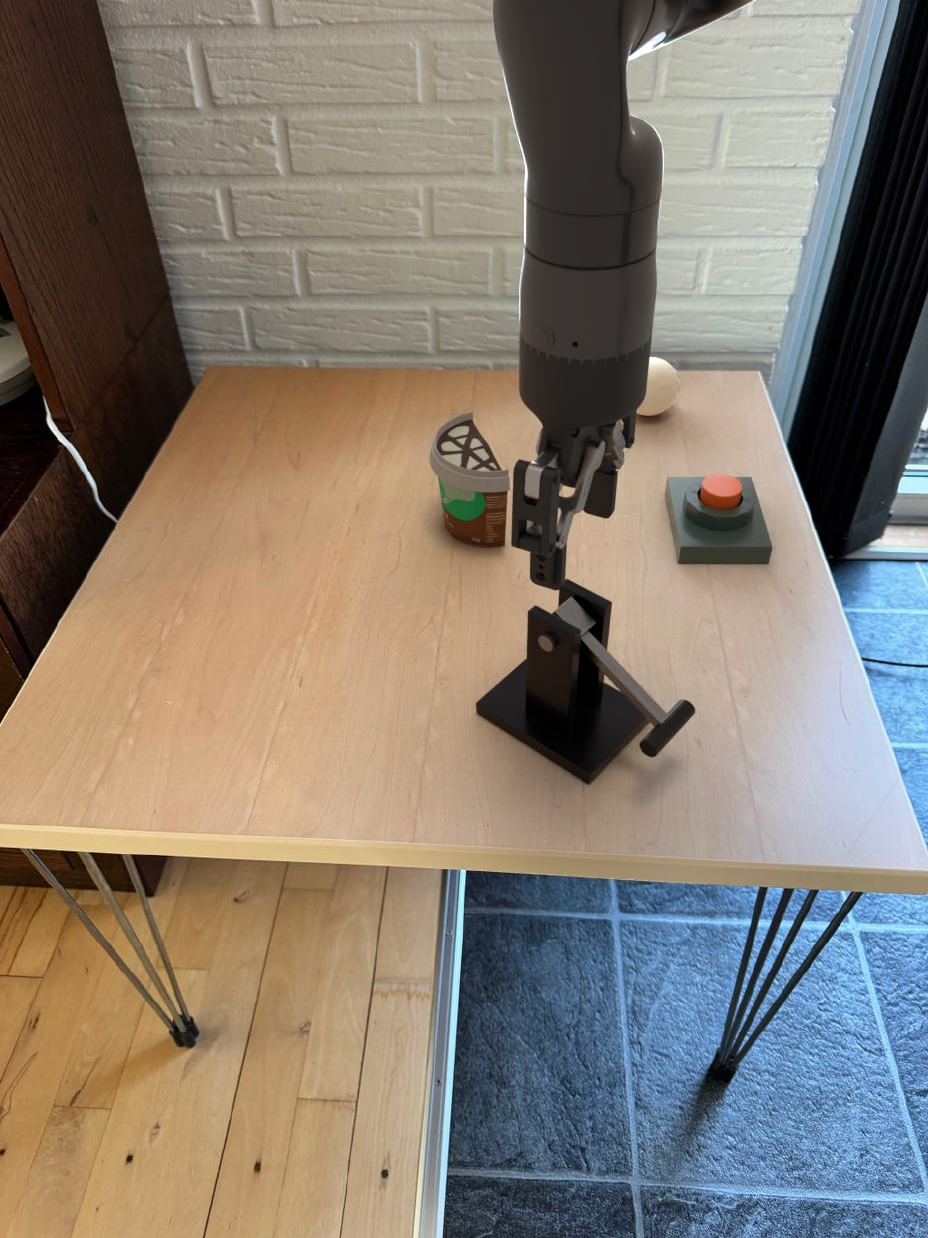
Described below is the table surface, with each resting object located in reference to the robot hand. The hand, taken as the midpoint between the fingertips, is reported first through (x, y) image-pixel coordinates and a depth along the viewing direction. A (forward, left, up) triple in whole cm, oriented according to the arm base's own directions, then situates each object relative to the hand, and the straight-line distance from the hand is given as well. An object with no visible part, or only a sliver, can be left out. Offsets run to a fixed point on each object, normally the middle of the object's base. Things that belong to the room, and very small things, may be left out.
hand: (573, 547), depth 65 cm
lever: (-3, -2, -14) cm, 15 cm away
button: (-3, -34, -18) cm, 39 cm away
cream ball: (+11, -53, -22) cm, 59 cm away
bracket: (+1, -3, -22) cm, 22 cm away
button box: (-3, -34, -22) cm, 41 cm away
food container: (+21, -23, -22) cm, 38 cm away
